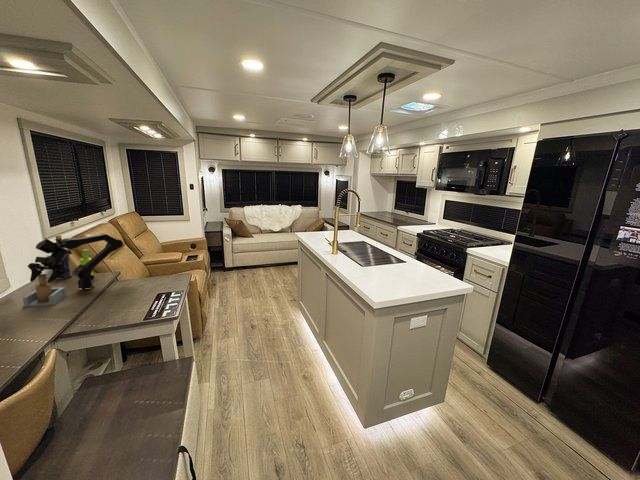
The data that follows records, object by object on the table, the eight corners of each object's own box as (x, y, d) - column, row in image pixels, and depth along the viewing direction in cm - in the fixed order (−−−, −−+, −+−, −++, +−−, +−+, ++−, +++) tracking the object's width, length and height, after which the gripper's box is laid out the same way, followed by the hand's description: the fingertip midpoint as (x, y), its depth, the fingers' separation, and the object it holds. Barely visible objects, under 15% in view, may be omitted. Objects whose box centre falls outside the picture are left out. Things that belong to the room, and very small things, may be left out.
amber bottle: (55, 297, 151) (52, 273, 148) (48, 302, 145) (45, 276, 143) (41, 298, 149) (38, 273, 146) (34, 302, 143) (31, 277, 140)
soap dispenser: (96, 275, 190) (94, 248, 186) (87, 278, 184) (84, 250, 180) (89, 274, 191) (86, 247, 187) (79, 277, 184) (76, 250, 180)
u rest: (37, 297, 151) (36, 288, 150) (66, 295, 156) (65, 287, 155) (23, 307, 140) (21, 297, 139) (54, 305, 145) (53, 295, 143)
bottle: (60, 280, 177) (55, 237, 171) (50, 278, 179) (44, 235, 173) (75, 275, 186) (71, 235, 180) (65, 274, 187) (60, 233, 181)
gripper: (28, 249, 145) (8, 274, 136) (62, 251, 146) (45, 276, 137) (44, 258, 154) (27, 283, 146) (76, 261, 155) (61, 285, 146)
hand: (39, 281), depth 143 cm, fingers open, 9 cm apart
